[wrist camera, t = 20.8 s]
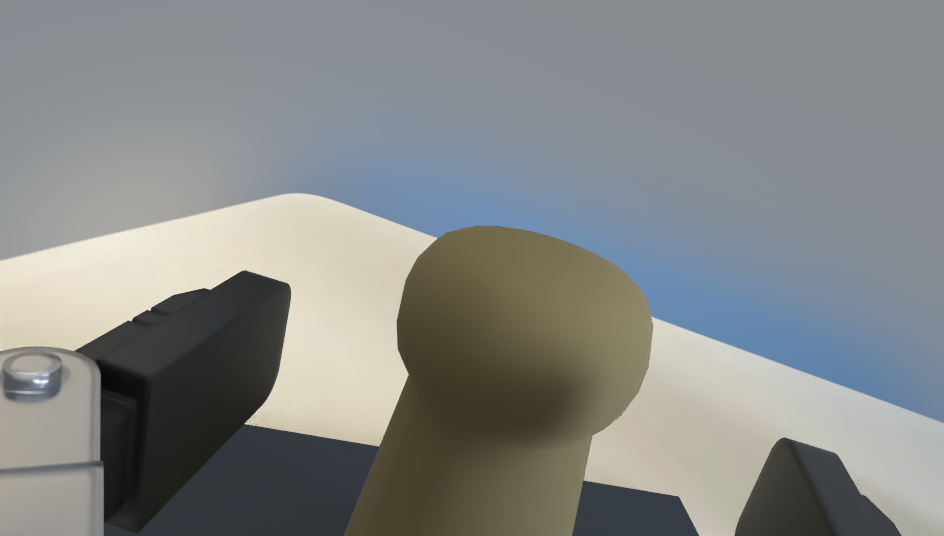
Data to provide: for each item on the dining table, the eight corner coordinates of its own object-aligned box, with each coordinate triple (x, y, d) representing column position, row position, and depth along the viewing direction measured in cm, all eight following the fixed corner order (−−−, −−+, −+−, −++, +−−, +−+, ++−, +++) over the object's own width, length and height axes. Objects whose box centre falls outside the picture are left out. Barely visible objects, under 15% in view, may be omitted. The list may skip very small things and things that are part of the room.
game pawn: (512, 565, 21) (628, 226, 17) (571, 776, 15) (761, 342, 12) (309, 551, 19) (388, 178, 16) (293, 779, 14) (410, 285, 10)
